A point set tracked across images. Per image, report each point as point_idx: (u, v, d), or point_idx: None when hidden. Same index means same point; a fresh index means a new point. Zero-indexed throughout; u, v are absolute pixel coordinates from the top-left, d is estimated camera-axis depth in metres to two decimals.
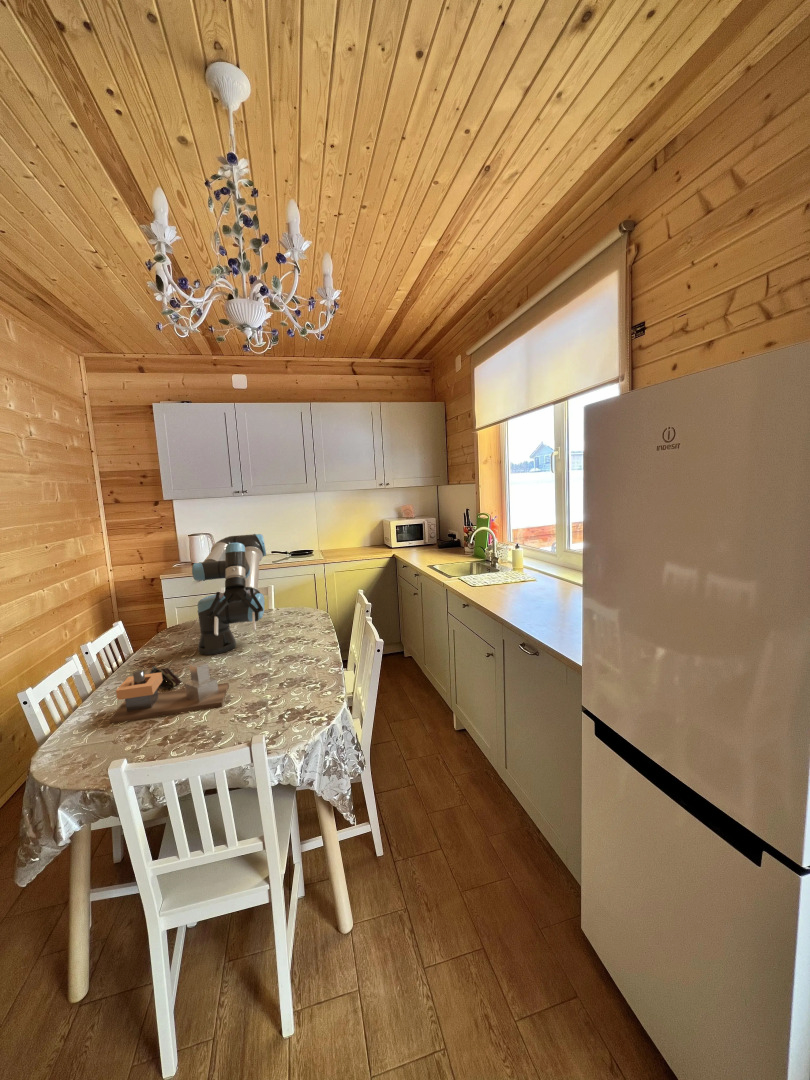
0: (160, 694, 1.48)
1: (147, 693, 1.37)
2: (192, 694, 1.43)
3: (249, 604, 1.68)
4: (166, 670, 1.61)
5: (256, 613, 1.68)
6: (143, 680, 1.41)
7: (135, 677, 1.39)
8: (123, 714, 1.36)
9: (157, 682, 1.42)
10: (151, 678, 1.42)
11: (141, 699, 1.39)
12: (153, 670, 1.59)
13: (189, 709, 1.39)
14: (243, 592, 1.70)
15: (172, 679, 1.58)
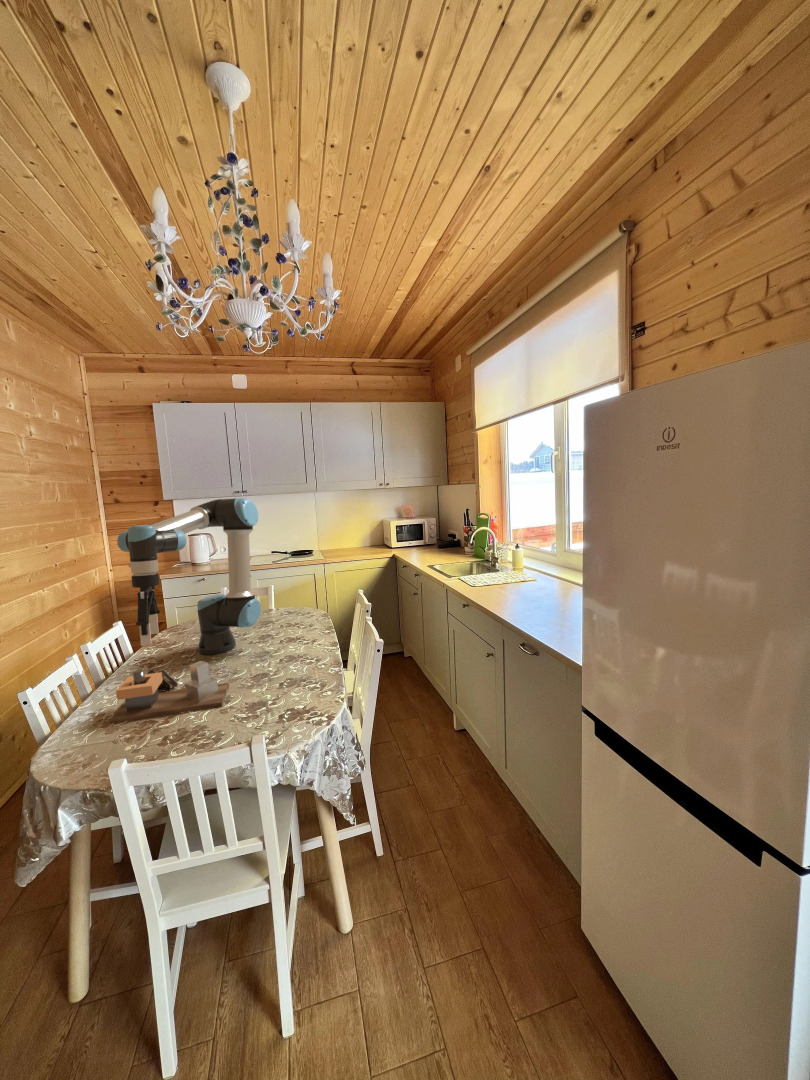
0: (160, 694, 1.48)
1: (147, 693, 1.37)
2: (192, 694, 1.43)
3: None
4: (162, 672, 1.59)
5: (141, 626, 1.33)
6: (143, 680, 1.41)
7: (135, 677, 1.39)
8: (123, 714, 1.36)
9: (157, 682, 1.42)
10: (151, 678, 1.42)
11: (141, 699, 1.39)
12: (149, 673, 1.57)
13: (189, 709, 1.39)
14: None
15: (169, 681, 1.57)
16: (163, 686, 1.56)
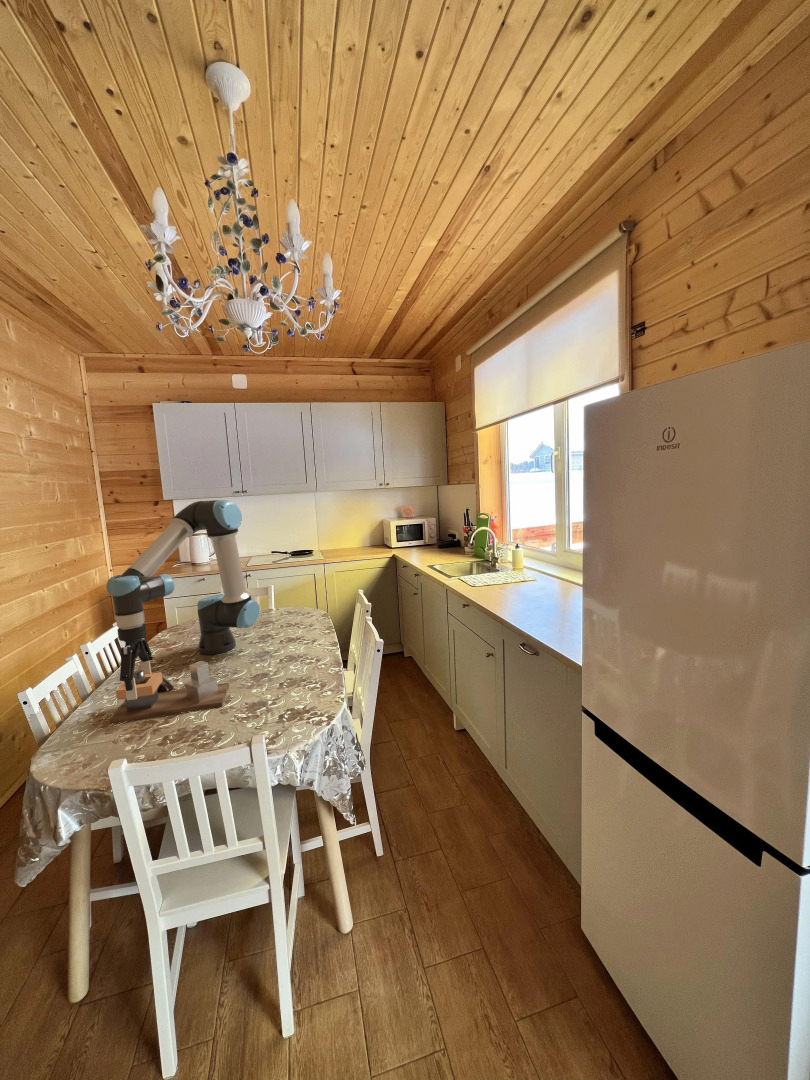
0: (160, 694, 1.48)
1: (147, 693, 1.37)
2: (192, 694, 1.43)
3: None
4: None
5: None
6: (143, 680, 1.41)
7: (135, 677, 1.39)
8: (123, 714, 1.36)
9: (157, 682, 1.42)
10: (151, 678, 1.42)
11: (141, 699, 1.39)
12: None
13: (189, 709, 1.39)
14: None
15: (164, 684, 1.55)
16: (159, 689, 1.54)
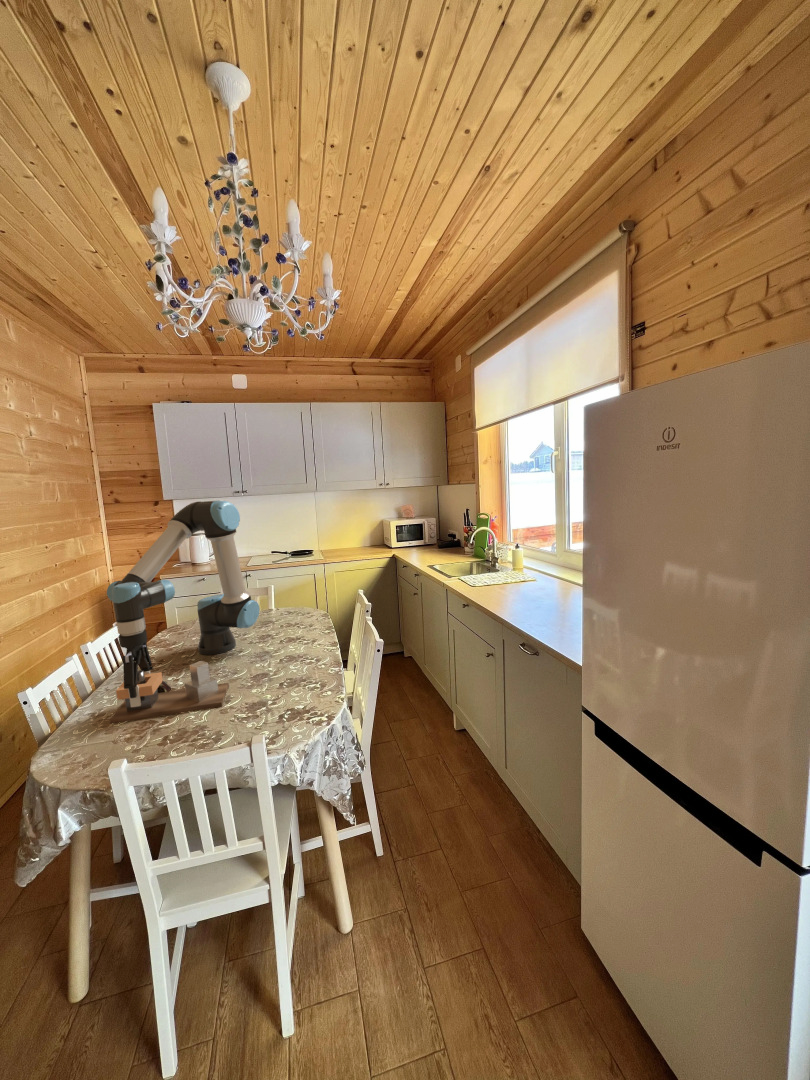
0: (160, 694, 1.48)
1: (147, 693, 1.37)
2: (192, 694, 1.43)
3: None
4: None
5: None
6: (143, 680, 1.41)
7: None
8: (123, 714, 1.36)
9: (157, 682, 1.42)
10: (151, 678, 1.42)
11: (141, 699, 1.39)
12: None
13: (189, 709, 1.39)
14: None
15: (162, 685, 1.54)
16: None
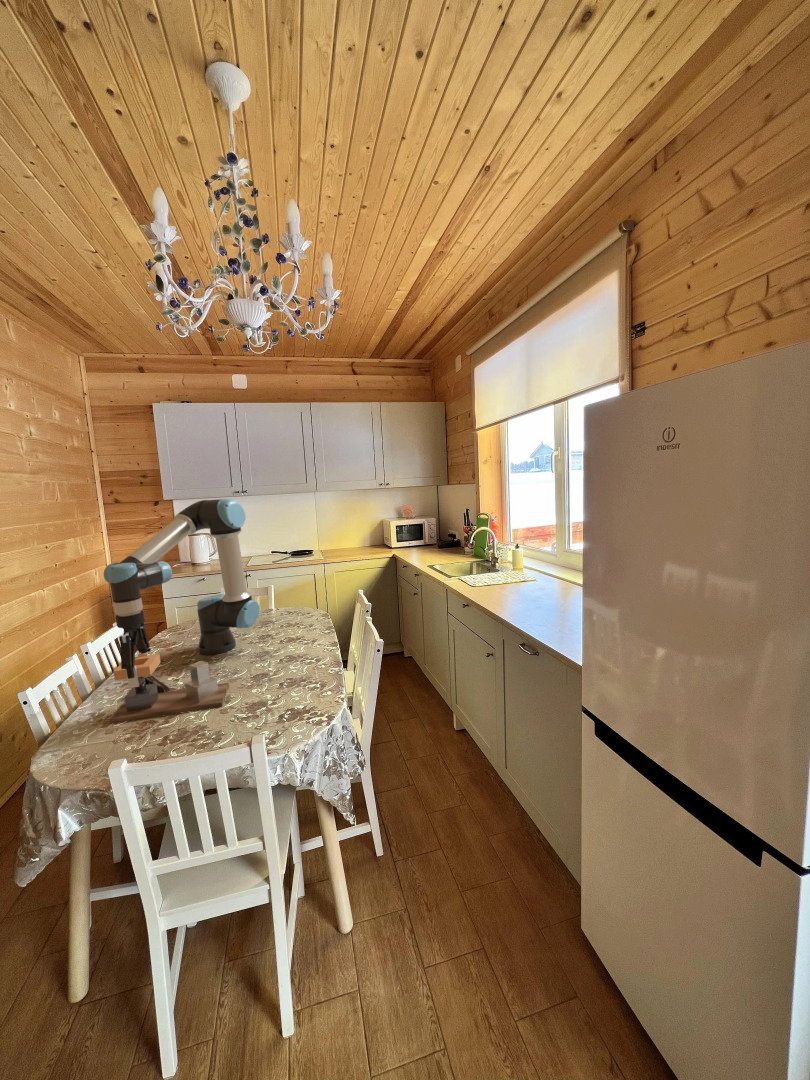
0: (160, 694, 1.48)
1: (145, 674, 1.37)
2: (192, 694, 1.43)
3: None
4: (151, 678, 1.55)
5: None
6: (143, 680, 1.41)
7: None
8: (123, 714, 1.36)
9: (155, 663, 1.42)
10: (149, 659, 1.42)
11: (141, 699, 1.39)
12: None
13: (189, 709, 1.39)
14: None
15: (160, 686, 1.53)
16: None
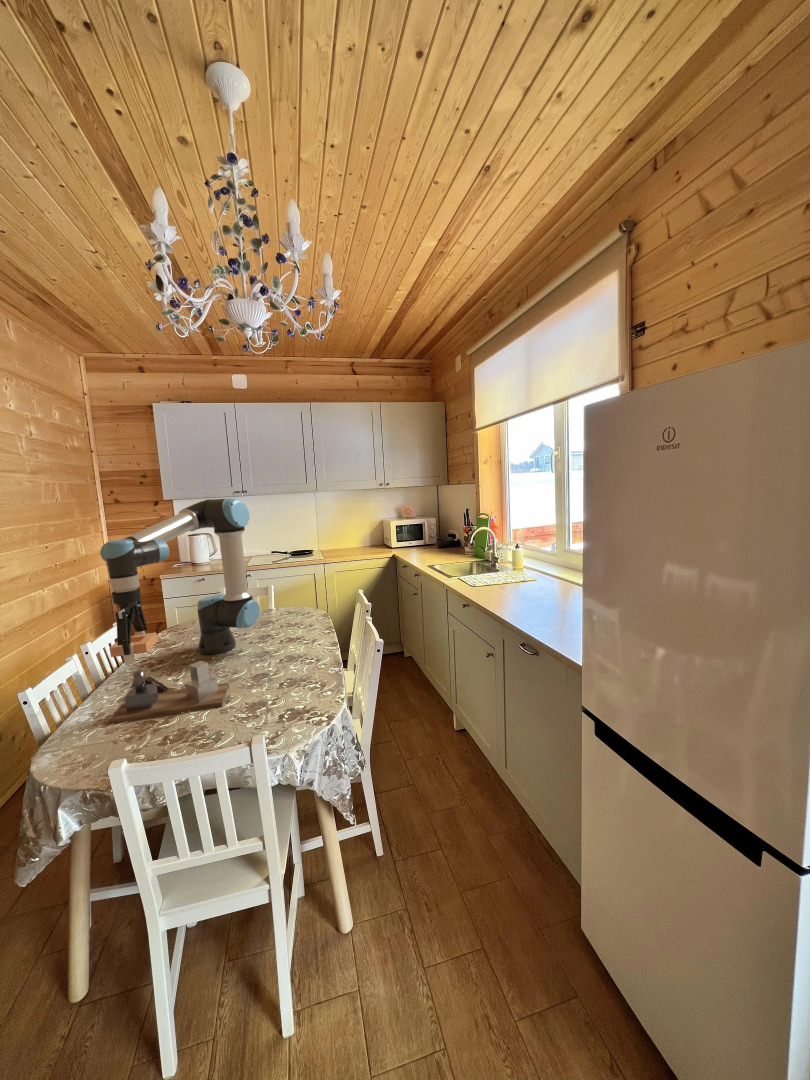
0: (160, 694, 1.48)
1: (141, 651, 1.35)
2: (192, 694, 1.43)
3: None
4: (149, 678, 1.55)
5: None
6: (143, 680, 1.41)
7: (135, 677, 1.39)
8: (123, 714, 1.36)
9: (151, 641, 1.41)
10: (145, 637, 1.41)
11: (141, 699, 1.39)
12: None
13: (189, 709, 1.39)
14: None
15: (159, 686, 1.53)
16: None
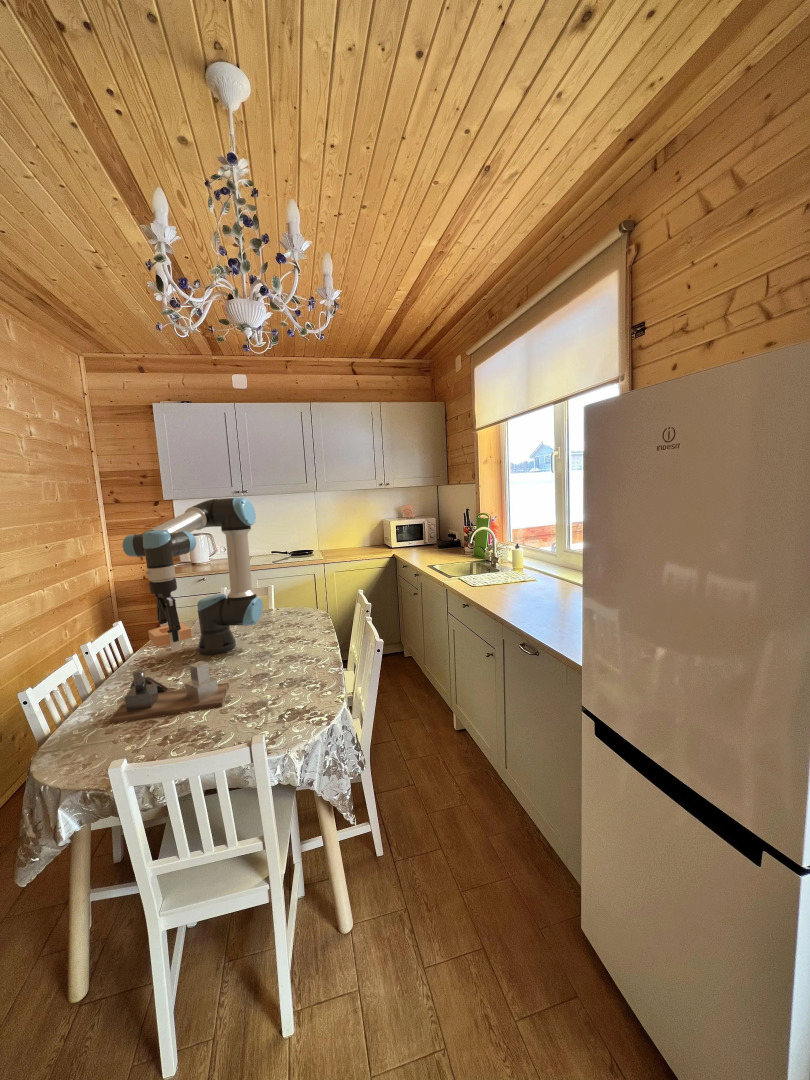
0: (160, 694, 1.48)
1: (186, 637, 1.40)
2: (192, 694, 1.43)
3: (167, 620, 1.36)
4: (148, 679, 1.55)
5: (172, 633, 1.36)
6: (143, 680, 1.41)
7: (135, 677, 1.39)
8: (123, 714, 1.36)
9: None
10: None
11: (141, 699, 1.39)
12: None
13: (189, 709, 1.39)
14: (163, 601, 1.36)
15: None
16: None
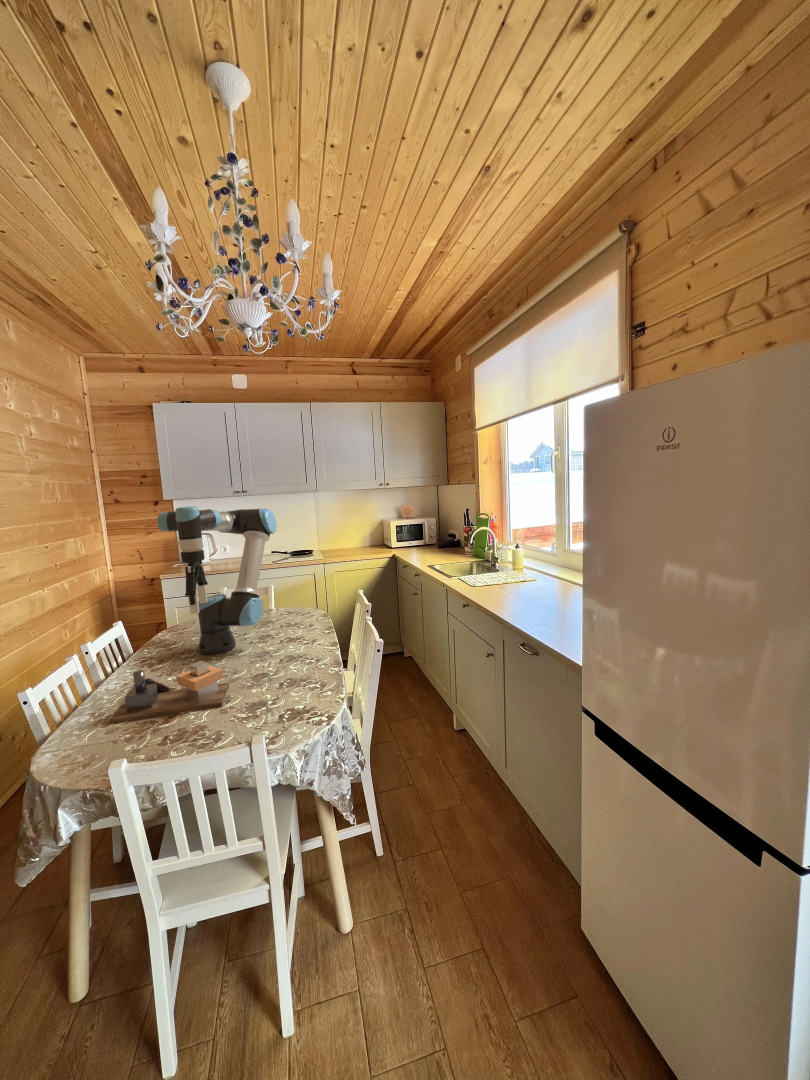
0: (160, 694, 1.48)
1: (219, 677, 1.46)
2: (192, 694, 1.43)
3: None
4: (149, 680, 1.54)
5: None
6: (143, 680, 1.41)
7: (135, 677, 1.39)
8: (123, 714, 1.36)
9: None
10: None
11: (141, 699, 1.39)
12: None
13: (189, 709, 1.39)
14: None
15: None
16: None
